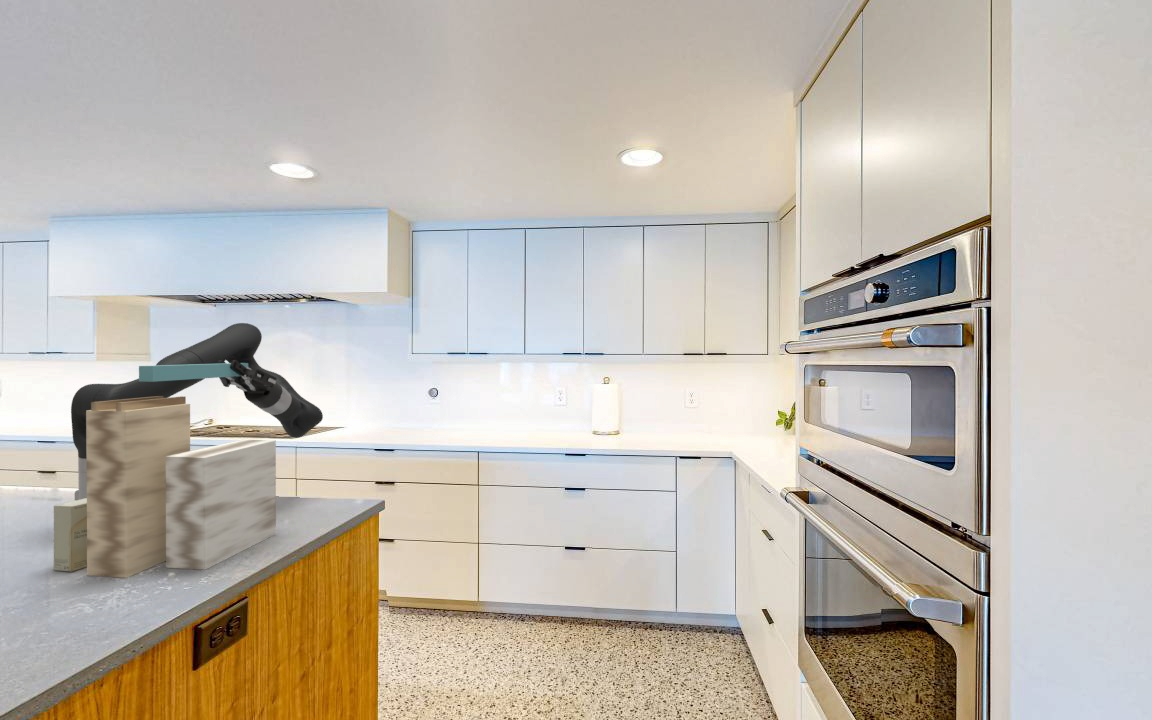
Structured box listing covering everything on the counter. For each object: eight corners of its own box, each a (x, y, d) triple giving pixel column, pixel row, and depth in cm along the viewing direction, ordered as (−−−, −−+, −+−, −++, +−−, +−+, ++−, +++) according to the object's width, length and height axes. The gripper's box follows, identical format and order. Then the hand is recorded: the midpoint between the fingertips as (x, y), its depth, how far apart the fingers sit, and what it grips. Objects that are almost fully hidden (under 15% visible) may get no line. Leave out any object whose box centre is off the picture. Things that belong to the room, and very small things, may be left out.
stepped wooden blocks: (87, 575, 98) (86, 402, 98) (197, 530, 123) (197, 392, 123) (182, 581, 96) (182, 404, 96) (275, 534, 121) (275, 393, 121)
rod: (139, 381, 106) (138, 366, 106) (236, 375, 131) (236, 363, 131) (152, 381, 105) (152, 366, 105) (248, 375, 131) (248, 363, 131)
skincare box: (71, 572, 100) (70, 506, 99) (52, 570, 100) (51, 505, 100) (107, 560, 106) (106, 497, 106) (88, 558, 107) (88, 496, 106)
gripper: (248, 382, 143) (203, 349, 128) (298, 383, 142) (258, 349, 127) (238, 408, 140) (191, 377, 125) (289, 409, 138) (247, 378, 123)
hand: (225, 363), depth 126 cm, fingers closed on rod, 3 cm apart
